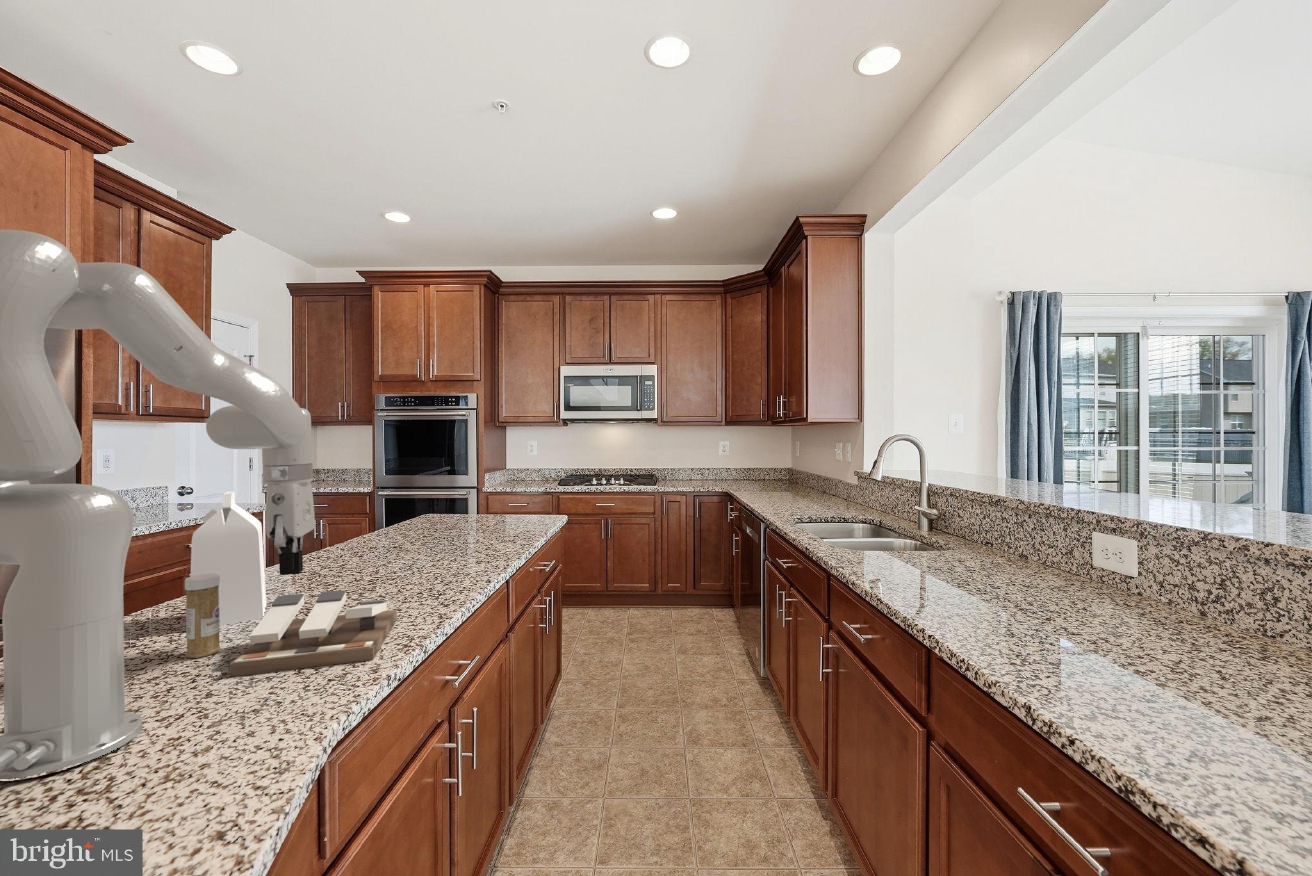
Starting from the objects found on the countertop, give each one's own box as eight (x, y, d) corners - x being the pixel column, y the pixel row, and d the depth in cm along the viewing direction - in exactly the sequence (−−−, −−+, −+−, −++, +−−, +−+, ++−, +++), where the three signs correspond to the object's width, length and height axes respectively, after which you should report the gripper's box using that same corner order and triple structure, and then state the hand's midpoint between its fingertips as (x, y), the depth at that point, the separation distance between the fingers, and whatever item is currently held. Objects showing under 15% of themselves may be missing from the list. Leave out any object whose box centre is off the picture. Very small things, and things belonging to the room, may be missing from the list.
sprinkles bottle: (218, 654, 89) (217, 576, 89) (183, 661, 87) (182, 580, 87) (222, 645, 93) (221, 570, 93) (188, 652, 91) (187, 574, 91)
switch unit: (372, 659, 86) (372, 635, 86) (230, 676, 81) (229, 650, 81) (396, 619, 106) (396, 600, 106) (282, 630, 100) (282, 610, 100)
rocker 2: (371, 616, 90) (372, 604, 90) (345, 618, 89) (346, 607, 89) (386, 609, 101) (387, 599, 102) (363, 611, 100) (364, 601, 101)
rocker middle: (326, 635, 88) (325, 625, 88) (299, 638, 87) (298, 628, 87) (346, 598, 100) (345, 589, 99) (322, 600, 99) (321, 591, 98)
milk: (263, 619, 107) (261, 493, 107) (188, 631, 100) (187, 497, 100) (266, 604, 117) (265, 488, 117) (198, 614, 110) (197, 492, 110)
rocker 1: (278, 640, 86) (277, 630, 86) (250, 643, 85) (249, 633, 85) (304, 602, 98) (303, 593, 97) (279, 604, 97) (278, 595, 96)
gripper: (296, 477, 90) (299, 582, 90) (324, 470, 104) (327, 561, 105) (244, 479, 88) (248, 587, 88) (281, 471, 102) (284, 564, 102)
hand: (291, 572), depth 96 cm, fingers closed
